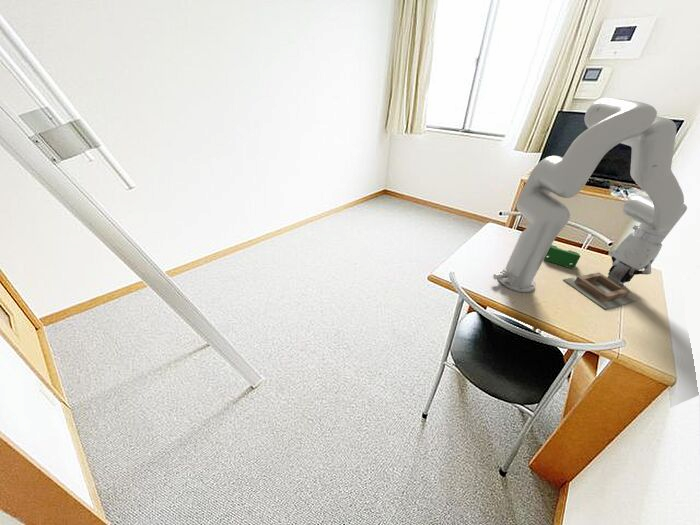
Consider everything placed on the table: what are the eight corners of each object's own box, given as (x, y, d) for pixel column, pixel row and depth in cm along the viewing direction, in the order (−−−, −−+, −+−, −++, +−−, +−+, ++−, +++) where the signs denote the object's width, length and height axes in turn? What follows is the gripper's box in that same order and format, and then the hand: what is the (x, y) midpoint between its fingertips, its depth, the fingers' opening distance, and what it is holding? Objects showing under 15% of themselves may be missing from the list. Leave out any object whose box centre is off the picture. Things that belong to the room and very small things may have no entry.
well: (604, 309, 100) (609, 302, 98) (562, 280, 112) (566, 273, 110) (636, 301, 105) (641, 294, 103) (593, 274, 117) (597, 267, 115)
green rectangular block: (562, 271, 125) (582, 255, 121) (563, 275, 120) (584, 259, 116) (538, 251, 128) (556, 236, 123) (538, 254, 123) (557, 238, 118)
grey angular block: (616, 285, 111) (629, 268, 107) (606, 279, 114) (618, 261, 110) (626, 283, 113) (639, 266, 108) (615, 277, 116) (628, 260, 111)
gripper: (617, 224, 107) (589, 266, 118) (670, 249, 94) (634, 294, 105) (630, 223, 109) (602, 264, 120) (684, 247, 97) (647, 290, 107)
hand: (617, 277), depth 112 cm, fingers closed on grey angular block, 4 cm apart
